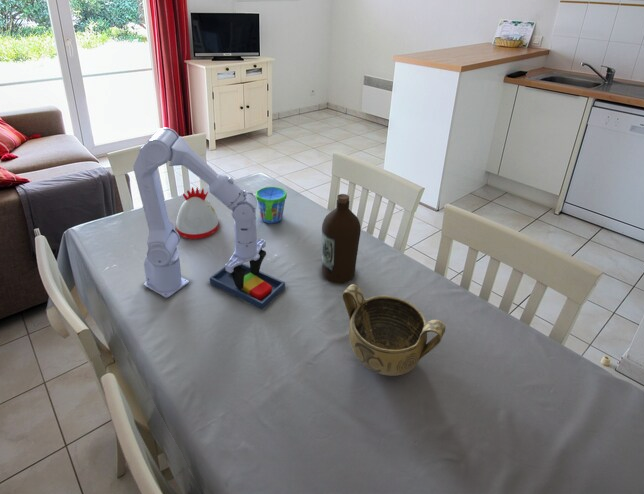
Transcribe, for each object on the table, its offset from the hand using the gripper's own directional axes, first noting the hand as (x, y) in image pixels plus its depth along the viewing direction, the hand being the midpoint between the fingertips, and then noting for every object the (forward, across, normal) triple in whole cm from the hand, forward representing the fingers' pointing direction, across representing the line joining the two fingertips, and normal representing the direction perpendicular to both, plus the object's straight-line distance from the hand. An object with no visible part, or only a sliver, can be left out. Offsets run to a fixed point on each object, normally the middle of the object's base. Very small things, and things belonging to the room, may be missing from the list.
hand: (247, 280), depth 117 cm
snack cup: (+2, +33, +16) cm, 37 cm away
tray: (+2, 0, 0) cm, 2 cm away
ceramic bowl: (+2, -2, -41) cm, 41 cm away
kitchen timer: (+2, +14, +33) cm, 36 cm away
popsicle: (+2, 0, 0) cm, 2 cm away
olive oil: (+2, +19, -18) cm, 26 cm away
